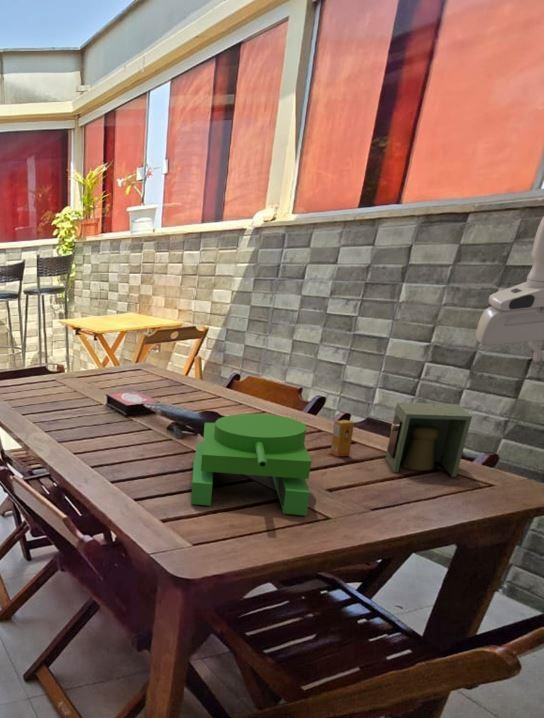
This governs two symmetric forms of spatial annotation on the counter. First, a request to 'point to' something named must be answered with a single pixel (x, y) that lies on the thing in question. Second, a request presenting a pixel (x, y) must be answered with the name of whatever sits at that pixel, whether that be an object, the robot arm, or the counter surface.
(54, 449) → the counter surface
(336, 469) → the counter surface
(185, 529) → the counter surface
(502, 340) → the robot arm
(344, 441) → the supplement box
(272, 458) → the tank
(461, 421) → the oven box
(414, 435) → the cork
